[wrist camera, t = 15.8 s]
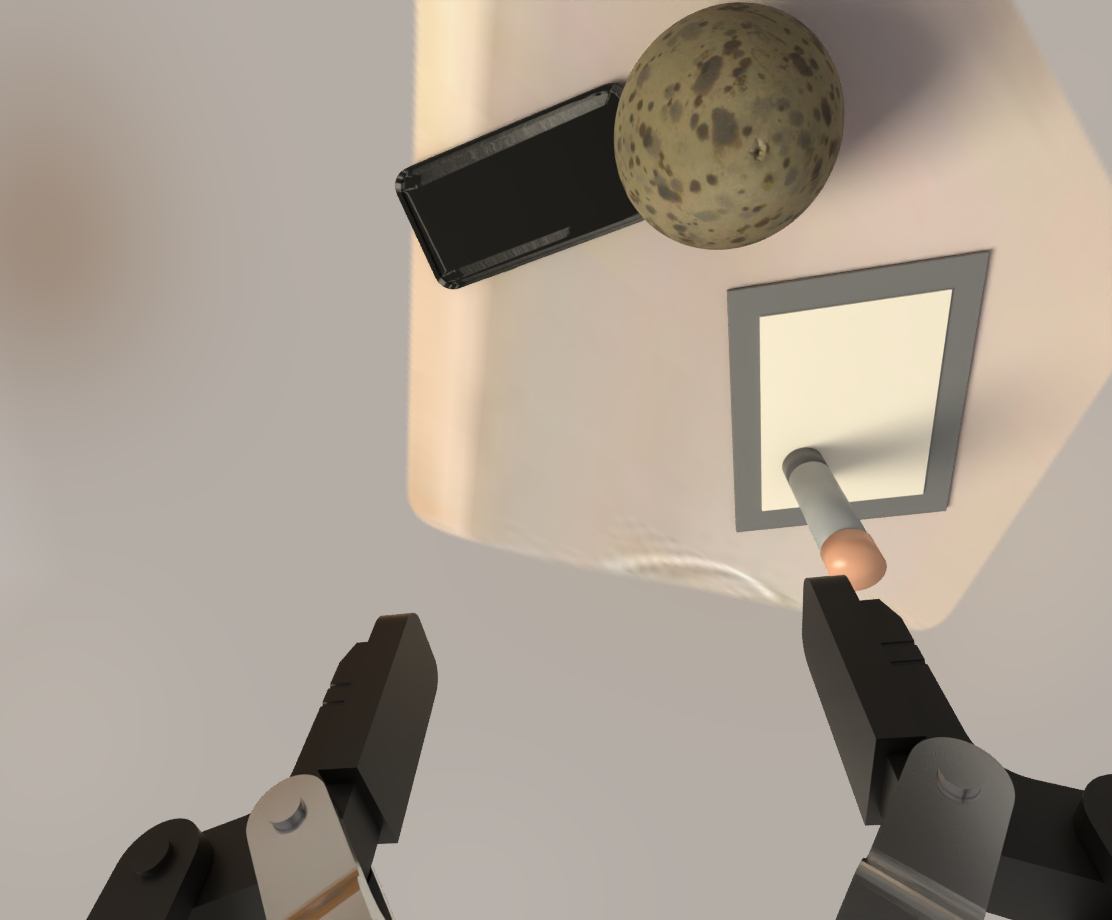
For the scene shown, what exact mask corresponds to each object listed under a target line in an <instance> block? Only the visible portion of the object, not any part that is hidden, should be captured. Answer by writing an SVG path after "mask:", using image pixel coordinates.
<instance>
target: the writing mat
mask: <svg viewBox="0 0 1112 920" xmlns="http://www.w3.org/2000/svg"><path fill="white" fill-rule="evenodd" d="M988 257H989V252H988V251H981V252H974V253H967V254H961V255H954V256H948V257H941V258H934V259H928V260H921V261H915V262H908V263H901V264H895V265H888V266H882V267H875V268H868V269H862V270H855V271H848V272H842V273H835V274H829V275H822V276H815V277H809V278H802V279H796V280H789V281H782V282H776V283H769V284H763V285H756V286H749V287H743V288H736V289H730V290H727V303H728V330H729V357H730V383H731V410H732V437H733V464H734V490H735V517H736V531H737V532H744V531H754V530H763V529H773V528H783V527H793V526H802V525H808V524H807V522H806V520H805V518H804V516H803V513H802V511H801V509H800V507H799V505H798V503H797V501H796V498H795V496H794V494H793V492H792V490H791V488H790V486H789V483H788V481H787V479H786V477H785V475H784V473H783V470H782V464H783V461H784V459H785V457H786V456H787V455H788V454H789V453H790V452H792V451H794V450H796V449H799V448H803V447H809V448H813V449H816V450H817V451H819V452H820V453H821V455H822V457H823V458H824V460H825V462H826V463H827V465H828V467H829V469H830V470H831V472H832V474H833V475H834V477H835V479H836V481H837V482H838V484H839V486H840V487H841V489H842V491H843V493H844V494H845V496H846V498H847V499H848V501H849V503H850V504H851V506H852V508H853V510H854V511H855V513H856V515H857V516H858V518H859V520H861V519H871V518H881V517H890V516H900V515H910V514H920V513H930V512H939V511H946V508H947V503H948V497H949V491H950V485H951V479H952V473H953V467H954V461H955V455H956V449H957V443H958V437H959V431H960V425H961V419H962V413H963V407H964V401H965V395H966V389H967V383H968V377H969V371H970V365H971V359H972V353H973V347H974V341H975V335H976V329H977V323H978V317H979V311H980V305H981V299H982V293H983V287H984V281H985V275H986V269H987V263H988Z"/></svg>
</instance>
